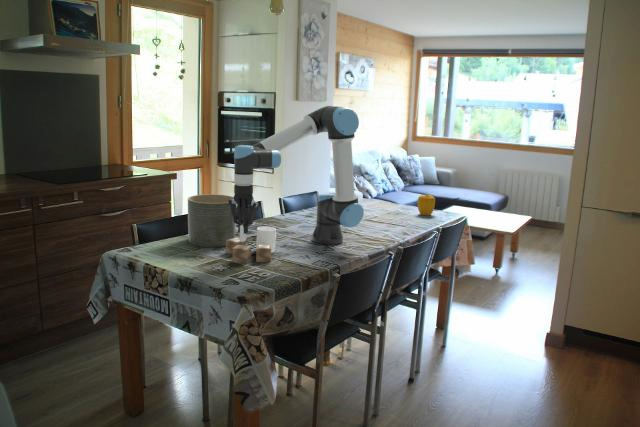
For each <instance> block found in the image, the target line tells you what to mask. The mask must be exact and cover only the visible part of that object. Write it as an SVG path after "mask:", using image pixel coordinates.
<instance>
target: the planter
mask: <svg viewBox="0 0 640 427" xmlns="http://www.w3.org/2000/svg"><path fill="white" fill-rule="evenodd" d="M233 198H234V196H233V195H227V194H215V193H214V194H212V193H211V194H210V193H208V194H196V195H191V196H188V198H187V226H188V227H187V228H188V229H187V231H188V243H189V244H191V245H193V246H197V247H202V248H221V247H226V240H229V239H233V238H237V237H236V233H237V224H236V223H234V220H233V215H232V211H231V206H230V204H229V202H228V201H229V200H231V199H233ZM236 207H237V203H236Z"/></svg>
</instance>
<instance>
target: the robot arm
mask: <svg viewBox="0 0 640 427" xmlns="http://www.w3.org/2000/svg"><path fill="white" fill-rule="evenodd" d="M359 120H360V119H359V116H358V114H357V112H356V111H354V109H352V108H349V107H346V106H334V105H327V106H323V107H320V108H318V109H316V110H314V111H312V112H310V113H309V114H306V115H304V116H303V119H302V120H300V121H298V122H296V123H293V124H292V125H290V126H288V127H286V128H284V129H283V130H280V131H278V132H276V133H275V134H273V135H271V136H268V137H267V138H264V139H262V140H261V141H259V142H257V143H255V144H253V145H249V144H248V145H247V144H246V145H245V144H244V145H243V144H240V145H236V146H235V148H234V154H233V159H234V162H233V164H234V166H233V168H234V172H233V173H234V175H233V178H234V180H233V183H234V187H233V193H234V195H233V197H234V198H233V199H231V200H229V201H228V202H229V204H230V206H231V211H232V215H233V220H234V223H236V225H237V229H238V230H237V231H238V234H239V239H240V241H241V242H244V241H246V242H247V234H248V233H249V226H251V225H252V224H253V223H254V219H255V215H256V212H257V211H256V210H257V207H258V206H259V202H258V201H256V200H254V196H253V195H254V185H253V183H254V170H257V169H259V170H261V169H262V170H263V169H271V170H272V169H277V168H279V167H280V165H281V164H282V155H281V153H280V152H281V151H283V150H285V149H286V148H288V147H290V146H292V145H294V144H296V143H298V142H300V141H302V140H303V139H305V138H307V137H309V136H316V135H318V134H321V133H327V139H328V140H329V141H330V142H331V144H332V146H331V148H332V163H333V177H334V179H333V180H334V191H335V193H320V194H318V196H317V201H316V203H317V205H316V221H315V222H316V225H315V226H314V230H313V233H312V235H311V236H312V237H311V241H312V242H314V243H316V244H321V245H340V244H342V243H343V242H344V235H343V231H342V228H341V227H345V228H348V229H349V228H351V229H352V228H355V227H357V226H358V225H359V224H360V223H361V221H362V220H363V218H364V214H365V212H364V208H363V206H362V205H361V204H360V203H359V197H358V195H357V194H356V193H355V182H354V181H355V180H354V164H353V150H352V149H353V146H352V141H353V140H354V138H355V133H356V132H357V130H358V128H359V124H360V121H359ZM236 203H237V207H236ZM250 206H251V207H250Z"/></svg>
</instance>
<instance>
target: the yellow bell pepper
mask: <svg viewBox="0 0 640 427" xmlns="http://www.w3.org/2000/svg"><path fill="white" fill-rule="evenodd" d="M435 206H436V197H434V195H431V194H420V195H419V196H418V197H417V209H418V212H419V214H420V215H422V216H424V215H425V216H426V217H427V216H431V215H433V214H432V213H433V212H434V209H435Z"/></svg>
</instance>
